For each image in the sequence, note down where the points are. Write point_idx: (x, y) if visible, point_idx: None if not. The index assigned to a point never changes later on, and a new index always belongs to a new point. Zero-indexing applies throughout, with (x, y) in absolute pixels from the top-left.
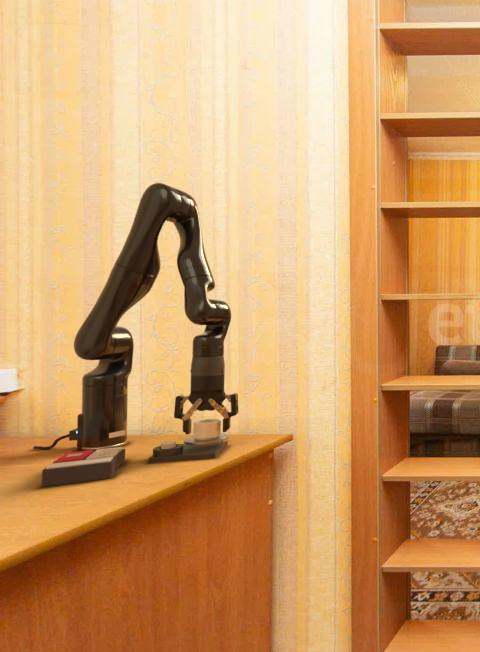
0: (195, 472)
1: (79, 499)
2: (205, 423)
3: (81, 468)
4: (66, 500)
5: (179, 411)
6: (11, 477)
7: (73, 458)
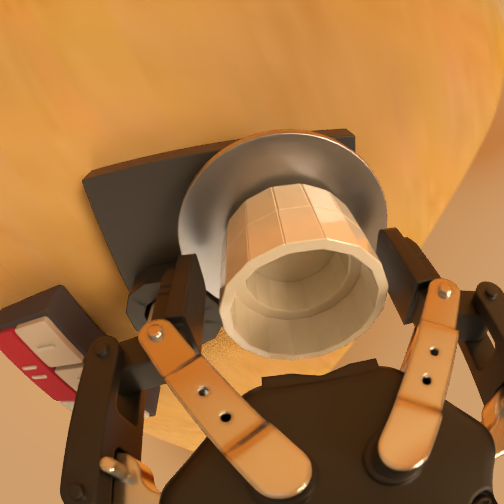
0: (318, 372)
1: (191, 425)
2: (313, 356)
3: None
4: (176, 425)
5: (142, 418)
6: None
7: (62, 393)
